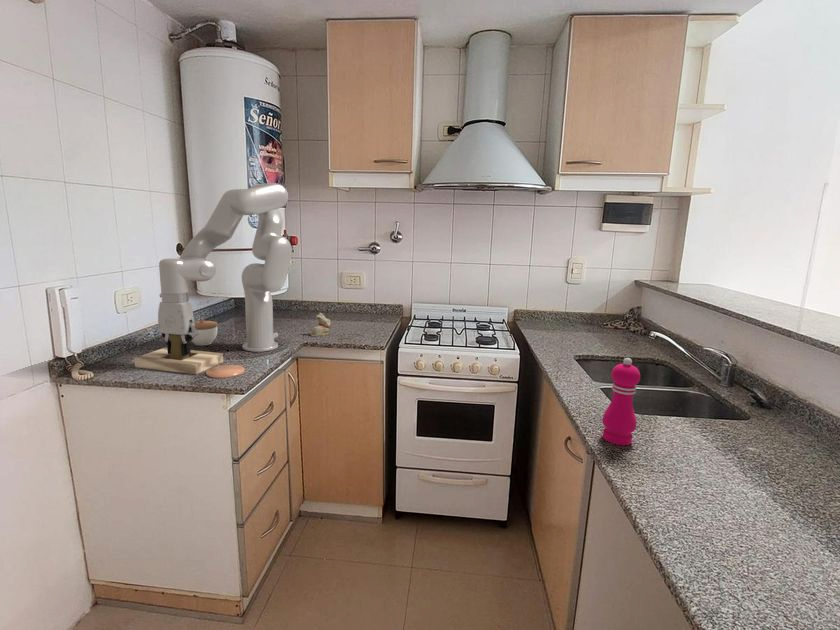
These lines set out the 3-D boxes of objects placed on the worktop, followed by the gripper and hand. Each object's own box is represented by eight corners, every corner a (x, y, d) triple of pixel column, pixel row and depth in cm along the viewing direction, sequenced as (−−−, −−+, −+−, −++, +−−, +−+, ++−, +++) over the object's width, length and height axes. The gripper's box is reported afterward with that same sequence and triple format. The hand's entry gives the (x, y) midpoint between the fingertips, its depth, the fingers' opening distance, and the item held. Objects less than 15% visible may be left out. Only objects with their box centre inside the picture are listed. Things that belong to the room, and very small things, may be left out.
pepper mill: (593, 433, 105) (604, 353, 101) (619, 431, 107) (630, 352, 103) (613, 448, 98) (625, 363, 94) (640, 445, 100) (653, 362, 96)
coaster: (221, 365, 143) (221, 363, 143) (251, 368, 141) (251, 366, 141) (198, 375, 133) (198, 374, 133) (230, 379, 131) (230, 377, 131)
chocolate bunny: (327, 337, 183) (327, 314, 182) (309, 336, 184) (309, 313, 182) (331, 334, 189) (331, 311, 187) (313, 333, 189) (313, 310, 187)
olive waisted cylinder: (167, 367, 139) (164, 334, 136) (172, 362, 144) (169, 329, 142) (188, 367, 140) (185, 333, 138) (192, 361, 146) (190, 329, 144)
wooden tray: (166, 355, 151) (165, 347, 150) (223, 362, 146) (222, 353, 146) (134, 367, 138) (134, 358, 138) (196, 374, 134) (195, 365, 133)
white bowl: (223, 340, 172) (222, 317, 171) (210, 347, 162) (208, 323, 160) (196, 339, 173) (195, 316, 171) (181, 346, 162) (179, 321, 160)
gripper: (142, 298, 136) (147, 354, 140) (190, 301, 133) (194, 359, 136) (161, 294, 143) (165, 348, 147) (207, 298, 140) (210, 353, 144)
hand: (179, 353), depth 141 cm, fingers closed on olive waisted cylinder, 4 cm apart
